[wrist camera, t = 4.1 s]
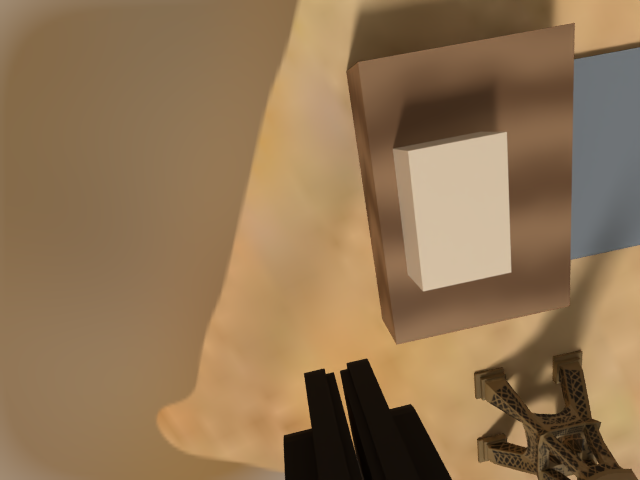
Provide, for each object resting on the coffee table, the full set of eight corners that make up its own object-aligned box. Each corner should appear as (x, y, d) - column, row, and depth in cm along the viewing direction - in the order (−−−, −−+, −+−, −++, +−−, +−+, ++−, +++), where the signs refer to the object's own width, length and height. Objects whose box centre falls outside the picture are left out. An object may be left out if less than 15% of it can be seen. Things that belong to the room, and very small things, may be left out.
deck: (346, 71, 27) (357, 61, 23) (533, 37, 28) (574, 23, 24) (382, 319, 33) (396, 344, 29) (536, 285, 34) (569, 305, 30)
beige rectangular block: (392, 148, 25) (407, 151, 22) (480, 131, 25) (506, 131, 22) (407, 274, 27) (423, 291, 25) (487, 257, 28) (511, 272, 25)
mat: (540, 65, 28) (543, 65, 28) (664, 42, 29) (670, 41, 28) (541, 263, 33) (544, 265, 33) (648, 240, 34) (652, 241, 33)
